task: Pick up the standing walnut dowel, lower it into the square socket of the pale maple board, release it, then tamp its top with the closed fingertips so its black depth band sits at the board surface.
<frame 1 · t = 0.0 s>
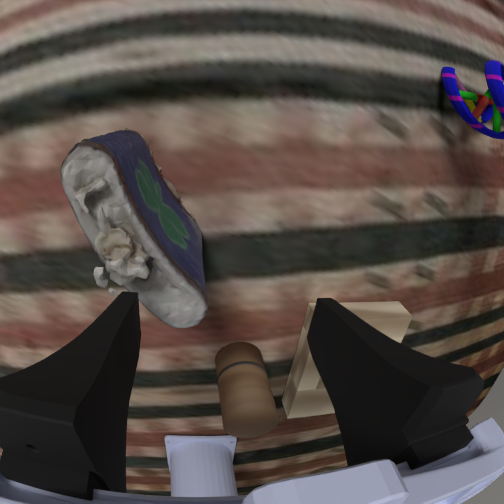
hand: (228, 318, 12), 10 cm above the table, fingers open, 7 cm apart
peg: (238, 359, 27), on the table
flask: (154, 191, 20), on the table, touching gripper
board: (338, 355, 29), on the table
dna model: (457, 94, 20), on the table
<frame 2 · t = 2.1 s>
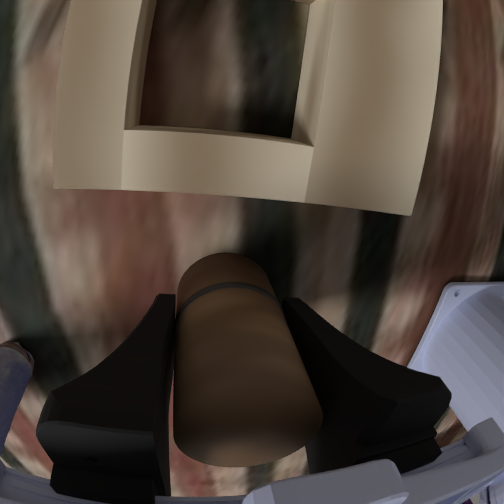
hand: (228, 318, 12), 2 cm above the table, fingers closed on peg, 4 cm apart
peg: (224, 295, 14), on the table, touching gripper
board: (254, 59, 10), on the table
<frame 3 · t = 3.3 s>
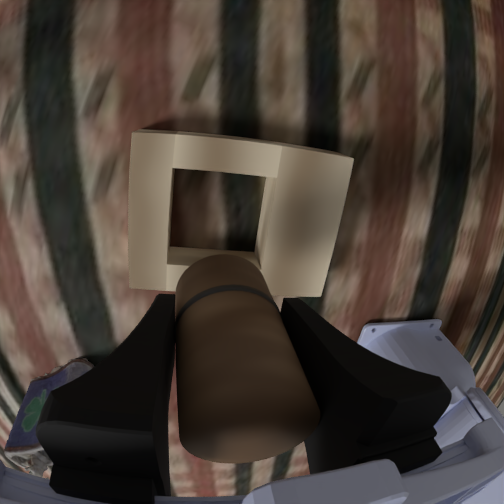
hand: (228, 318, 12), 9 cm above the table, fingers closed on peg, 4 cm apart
peg: (221, 294, 14), point 7 cm above the table, touching gripper
flask: (62, 377, 24), on the table
board: (233, 209, 20), on the table
when the fingers open (4 cm above the table, at t = 4.8 s): peg drops 2 cm, resting in board.
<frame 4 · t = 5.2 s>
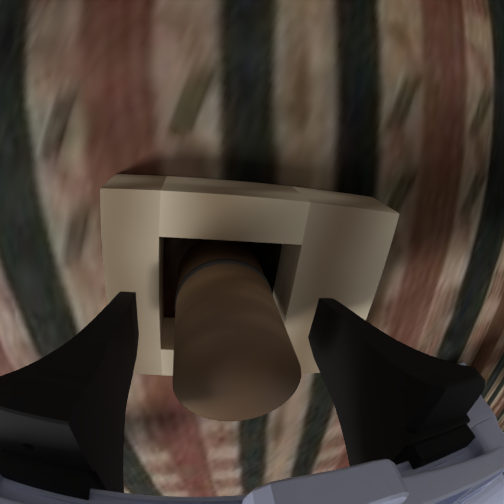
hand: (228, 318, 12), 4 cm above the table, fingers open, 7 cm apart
peg: (219, 275, 16), resting in board
board: (241, 273, 16), on the table
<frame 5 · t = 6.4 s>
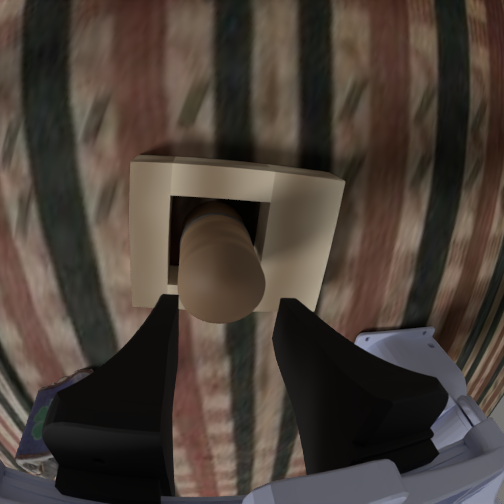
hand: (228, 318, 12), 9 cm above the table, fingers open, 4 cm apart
peg: (213, 231, 21), resting in board
flask: (68, 386, 25), on the table
board: (229, 230, 21), on the table
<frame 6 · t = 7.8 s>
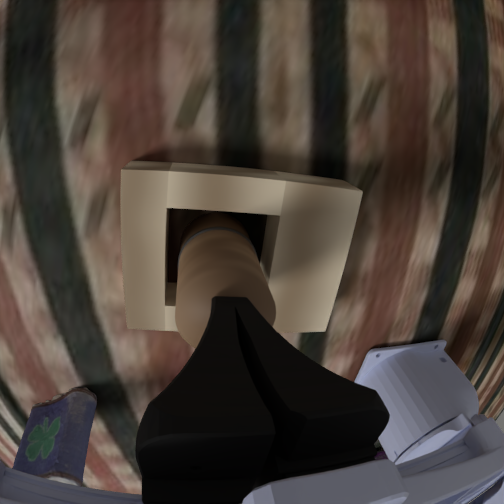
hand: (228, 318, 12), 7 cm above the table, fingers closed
peg: (215, 245, 19), resting in board
flask: (63, 403, 23), on the table
board: (233, 244, 19), on the table
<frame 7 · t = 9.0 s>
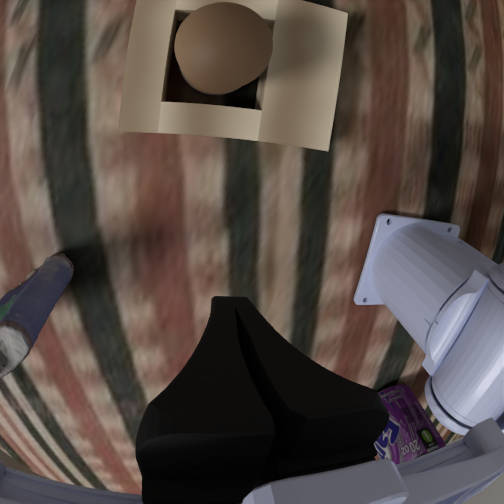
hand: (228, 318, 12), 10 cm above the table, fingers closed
peg: (214, 65, 17), resting in board
flask: (36, 286, 21), on the table
board: (232, 65, 17), on the table
beverage can: (382, 398, 35), on the table
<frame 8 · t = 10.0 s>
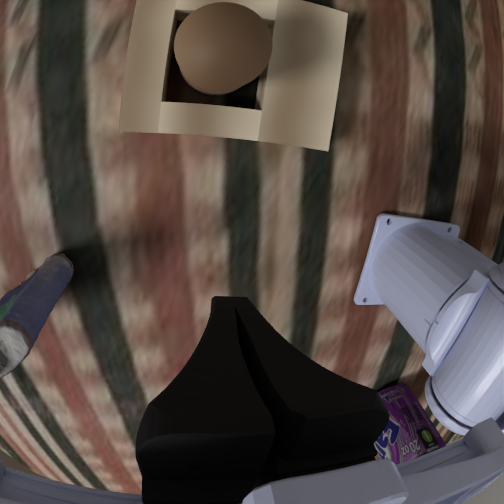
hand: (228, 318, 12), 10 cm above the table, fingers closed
peg: (214, 65, 17), resting in board
flask: (36, 286, 21), on the table
board: (232, 65, 17), on the table
beverage can: (382, 398, 35), on the table
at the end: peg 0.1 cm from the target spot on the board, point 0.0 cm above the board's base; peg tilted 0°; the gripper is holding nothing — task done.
